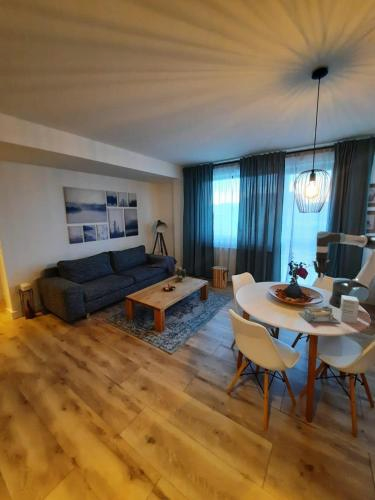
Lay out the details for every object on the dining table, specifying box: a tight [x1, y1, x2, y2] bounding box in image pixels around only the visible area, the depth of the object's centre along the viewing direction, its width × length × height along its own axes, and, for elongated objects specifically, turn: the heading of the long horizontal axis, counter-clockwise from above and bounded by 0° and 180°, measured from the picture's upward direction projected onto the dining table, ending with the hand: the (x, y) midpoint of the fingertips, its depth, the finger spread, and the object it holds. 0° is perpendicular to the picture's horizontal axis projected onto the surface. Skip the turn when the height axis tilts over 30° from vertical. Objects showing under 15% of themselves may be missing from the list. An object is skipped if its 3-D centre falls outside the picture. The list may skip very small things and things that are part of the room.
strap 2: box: [312, 311, 331, 316], centre depth 149 cm, size 15×3×1 cm, turn 86°
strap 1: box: [306, 306, 326, 312], centre depth 157 cm, size 15×3×1 cm, turn 86°
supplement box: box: [339, 295, 360, 325], centre depth 150 cm, size 10×9×17 cm
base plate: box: [297, 304, 341, 324], centre depth 153 cm, size 22×15×7 cm
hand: (320, 281), depth 159 cm, fingers closed
